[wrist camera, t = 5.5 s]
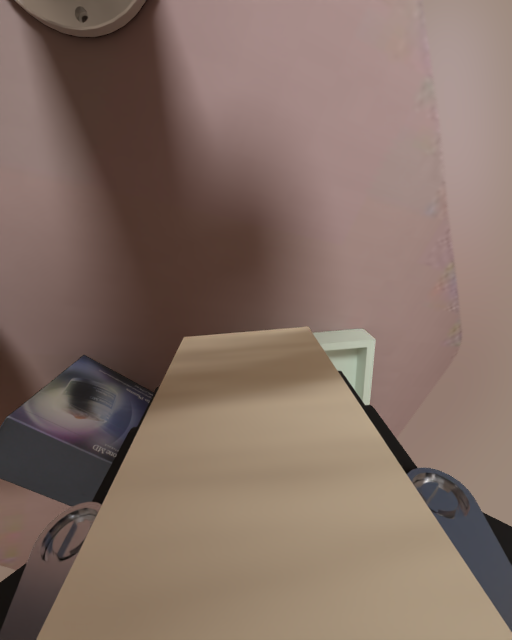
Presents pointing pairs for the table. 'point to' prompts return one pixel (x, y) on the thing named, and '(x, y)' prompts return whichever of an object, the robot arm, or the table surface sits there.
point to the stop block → (265, 516)
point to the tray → (351, 357)
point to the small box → (71, 432)
